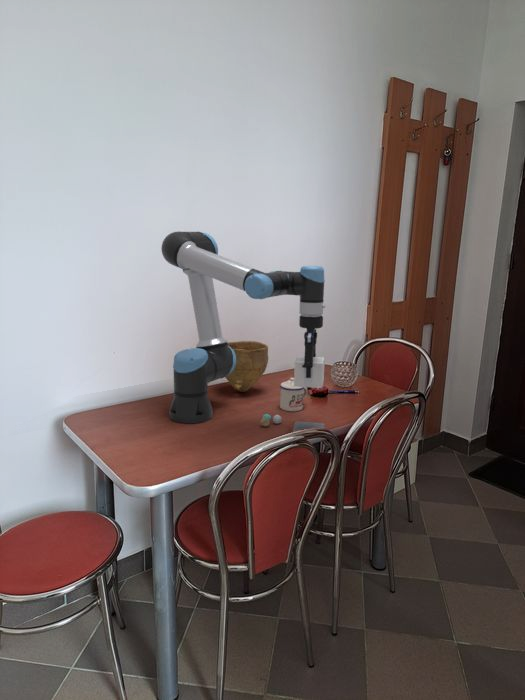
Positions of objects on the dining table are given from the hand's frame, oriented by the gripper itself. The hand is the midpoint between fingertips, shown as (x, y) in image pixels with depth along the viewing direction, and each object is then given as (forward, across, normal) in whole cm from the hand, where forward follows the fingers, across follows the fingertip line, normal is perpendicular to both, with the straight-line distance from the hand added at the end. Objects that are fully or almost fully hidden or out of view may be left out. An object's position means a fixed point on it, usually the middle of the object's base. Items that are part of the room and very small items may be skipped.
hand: (309, 382), depth 166 cm
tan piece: (+16, +35, +30) cm, 49 cm away
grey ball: (+16, +3, +11) cm, 20 cm away
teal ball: (+16, +3, +15) cm, 22 cm away
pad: (+16, 0, 0) cm, 16 cm away
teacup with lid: (+16, +21, +7) cm, 28 cm away
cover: (0, 0, 0) cm, 0 cm away
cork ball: (+16, 0, +15) cm, 22 cm away
